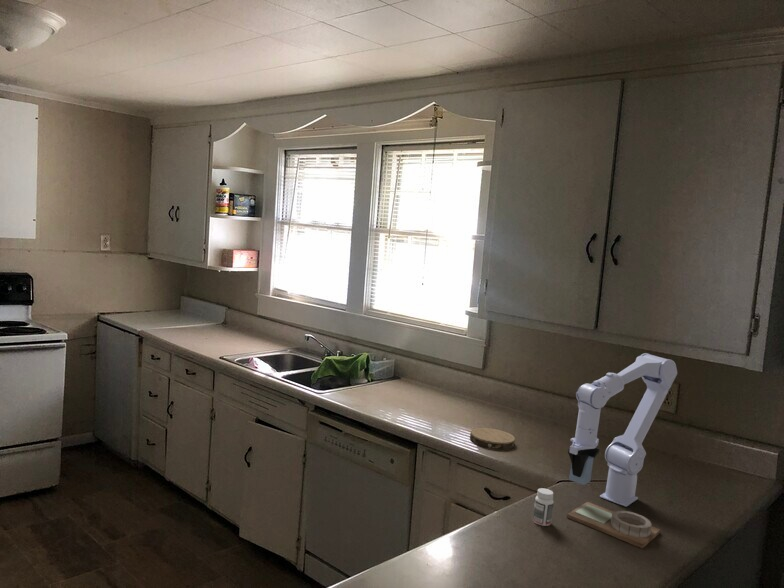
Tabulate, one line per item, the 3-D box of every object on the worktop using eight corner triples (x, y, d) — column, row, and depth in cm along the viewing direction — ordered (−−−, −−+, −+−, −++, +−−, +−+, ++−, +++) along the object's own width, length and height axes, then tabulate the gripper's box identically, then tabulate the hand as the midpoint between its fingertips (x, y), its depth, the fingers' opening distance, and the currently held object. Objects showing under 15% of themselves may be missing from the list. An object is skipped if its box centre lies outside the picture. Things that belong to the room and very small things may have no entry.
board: (587, 505, 172) (588, 493, 172) (659, 533, 159) (661, 520, 159) (566, 517, 162) (568, 504, 162) (642, 548, 149) (644, 534, 149)
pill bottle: (547, 518, 160) (552, 488, 160) (553, 527, 156) (557, 495, 155) (530, 517, 160) (534, 486, 159) (535, 525, 155) (539, 494, 155)
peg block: (575, 476, 174) (579, 452, 174) (590, 481, 171) (593, 457, 171) (568, 479, 171) (572, 455, 170) (583, 484, 168) (587, 460, 168)
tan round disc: (522, 445, 220) (523, 437, 220) (498, 454, 208) (499, 445, 208) (485, 433, 230) (486, 425, 230) (460, 440, 218) (461, 432, 218)
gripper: (584, 419, 178) (578, 464, 179) (562, 427, 167) (555, 474, 168) (608, 426, 173) (601, 472, 174) (586, 434, 162) (579, 483, 164)
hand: (580, 473), depth 171 cm, fingers closed on peg block, 4 cm apart
